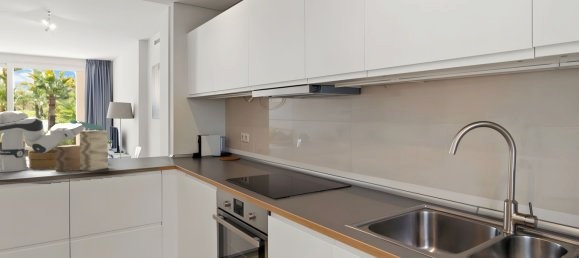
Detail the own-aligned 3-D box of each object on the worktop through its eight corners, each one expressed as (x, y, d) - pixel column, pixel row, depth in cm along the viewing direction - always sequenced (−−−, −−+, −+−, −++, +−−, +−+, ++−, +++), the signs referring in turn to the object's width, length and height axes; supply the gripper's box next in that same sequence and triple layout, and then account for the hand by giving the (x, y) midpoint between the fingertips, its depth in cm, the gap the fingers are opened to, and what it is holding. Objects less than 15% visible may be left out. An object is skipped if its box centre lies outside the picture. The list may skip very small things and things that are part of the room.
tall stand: (80, 170, 225) (79, 131, 224) (97, 167, 239) (96, 130, 238) (91, 170, 223) (90, 131, 222) (107, 167, 237) (107, 130, 236)
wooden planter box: (55, 169, 229) (54, 152, 229) (19, 169, 230) (18, 152, 230) (78, 164, 254) (78, 149, 254) (46, 164, 255) (45, 149, 254)
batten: (69, 124, 214) (70, 120, 214) (99, 130, 237) (100, 126, 237) (73, 124, 213) (74, 120, 213) (103, 130, 236) (103, 126, 236)
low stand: (55, 170, 222) (55, 146, 221) (74, 167, 235) (73, 144, 235) (65, 171, 220) (65, 146, 219) (83, 168, 233) (83, 145, 233)
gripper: (48, 138, 209) (65, 126, 221) (75, 138, 204) (91, 126, 216) (43, 129, 206) (61, 118, 217) (70, 129, 201) (87, 118, 212)
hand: (76, 122), depth 216 cm, fingers closed on batten, 3 cm apart
